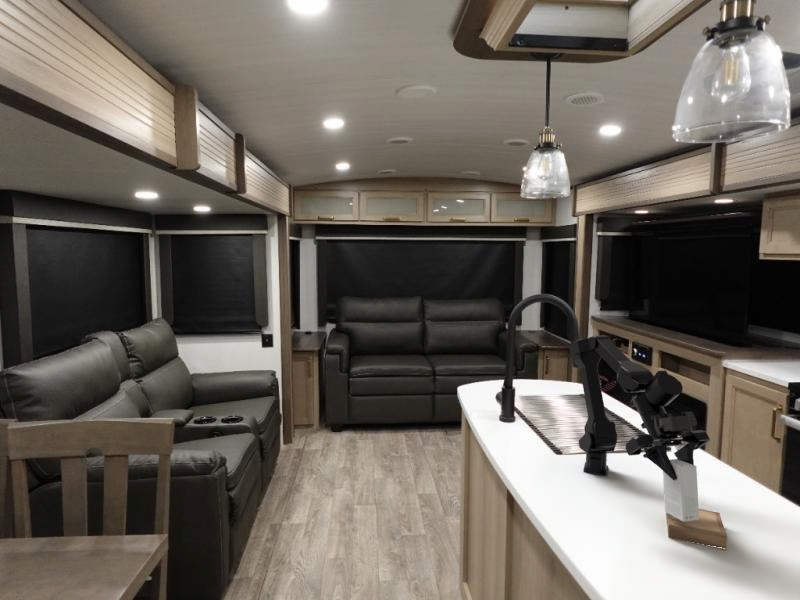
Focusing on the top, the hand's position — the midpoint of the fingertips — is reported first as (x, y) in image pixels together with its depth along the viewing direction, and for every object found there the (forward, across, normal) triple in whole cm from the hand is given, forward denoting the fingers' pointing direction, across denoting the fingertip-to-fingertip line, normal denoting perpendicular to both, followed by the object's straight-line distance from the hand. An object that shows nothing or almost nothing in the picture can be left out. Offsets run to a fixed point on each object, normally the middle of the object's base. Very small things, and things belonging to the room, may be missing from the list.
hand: (684, 478), depth 111 cm
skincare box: (+6, 0, +7) cm, 9 cm away
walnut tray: (+9, +4, +10) cm, 14 cm away
